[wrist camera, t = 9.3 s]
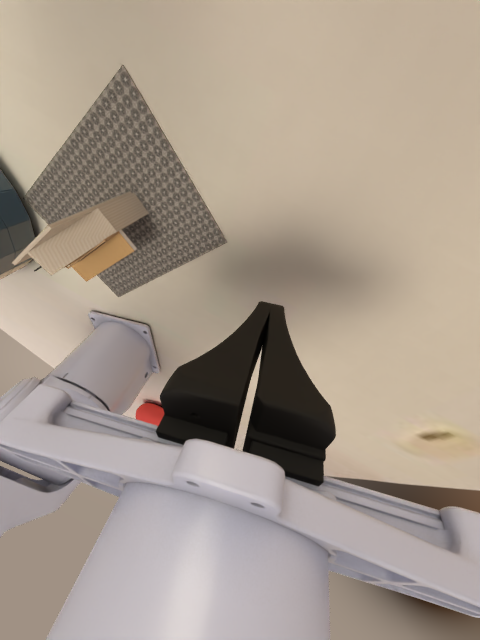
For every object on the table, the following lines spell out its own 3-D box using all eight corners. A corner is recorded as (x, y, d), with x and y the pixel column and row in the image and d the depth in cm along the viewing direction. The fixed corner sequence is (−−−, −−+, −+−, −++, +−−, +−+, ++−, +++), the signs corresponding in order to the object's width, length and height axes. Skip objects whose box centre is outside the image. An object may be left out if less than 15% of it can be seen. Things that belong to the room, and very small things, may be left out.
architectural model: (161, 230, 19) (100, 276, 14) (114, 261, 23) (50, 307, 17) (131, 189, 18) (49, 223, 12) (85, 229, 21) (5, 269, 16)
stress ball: (167, 390, 41) (132, 415, 37) (193, 433, 42) (162, 461, 38) (159, 390, 45) (128, 412, 42) (184, 428, 46) (155, 453, 42)
